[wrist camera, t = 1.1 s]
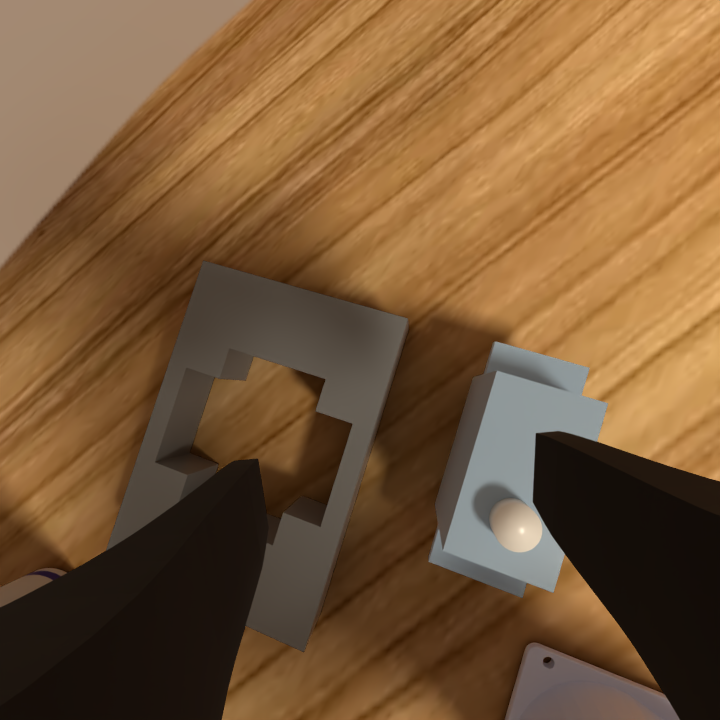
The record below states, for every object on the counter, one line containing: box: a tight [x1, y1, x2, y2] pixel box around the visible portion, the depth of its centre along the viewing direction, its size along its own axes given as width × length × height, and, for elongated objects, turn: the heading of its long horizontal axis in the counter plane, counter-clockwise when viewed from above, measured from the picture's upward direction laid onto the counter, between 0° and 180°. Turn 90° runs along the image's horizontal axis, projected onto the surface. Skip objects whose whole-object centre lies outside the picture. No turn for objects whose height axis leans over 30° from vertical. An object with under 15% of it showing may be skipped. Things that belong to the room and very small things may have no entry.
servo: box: [428, 341, 608, 598], centre depth 16 cm, size 4×10×7 cm, turn 163°
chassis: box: [106, 261, 409, 652], centre depth 20 cm, size 11×16×3 cm
